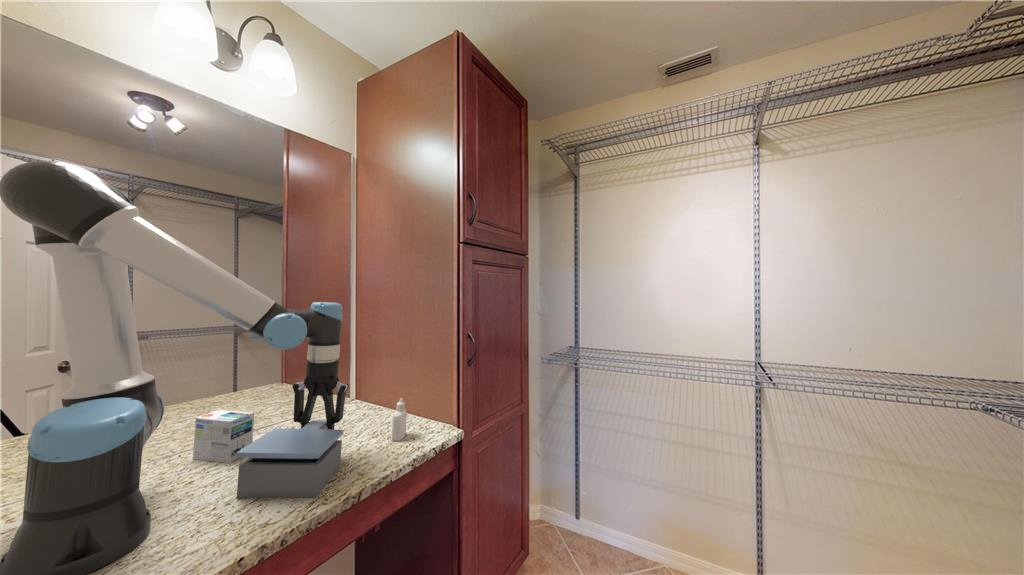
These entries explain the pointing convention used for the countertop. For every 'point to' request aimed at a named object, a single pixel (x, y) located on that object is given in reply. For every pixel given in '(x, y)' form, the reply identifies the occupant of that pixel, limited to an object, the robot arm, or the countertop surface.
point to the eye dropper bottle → (399, 422)
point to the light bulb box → (222, 435)
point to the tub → (288, 475)
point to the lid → (293, 442)
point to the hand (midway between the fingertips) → (316, 448)
